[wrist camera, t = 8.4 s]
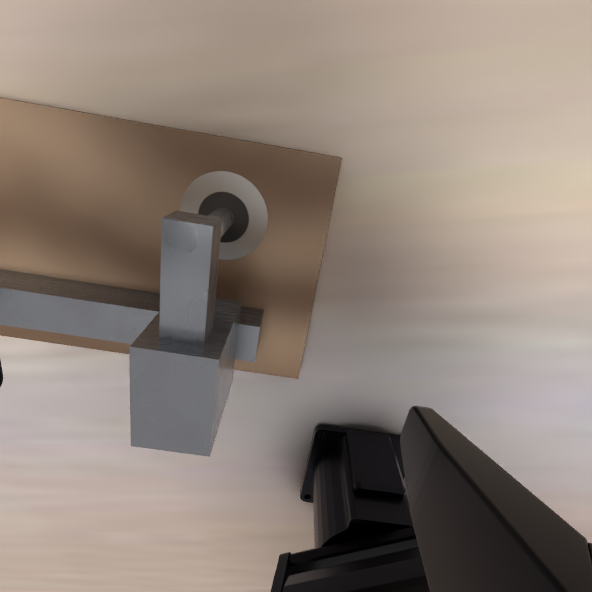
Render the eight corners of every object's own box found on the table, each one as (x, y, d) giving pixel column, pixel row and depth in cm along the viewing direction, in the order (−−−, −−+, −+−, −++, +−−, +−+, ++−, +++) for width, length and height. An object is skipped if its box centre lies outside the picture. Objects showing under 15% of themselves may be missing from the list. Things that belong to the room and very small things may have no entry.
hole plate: (298, 368, 22) (298, 380, 21) (-137, 304, 21) (-161, 313, 20) (339, 157, 17) (342, 158, 16) (-216, 59, 16) (-253, 53, 15)
